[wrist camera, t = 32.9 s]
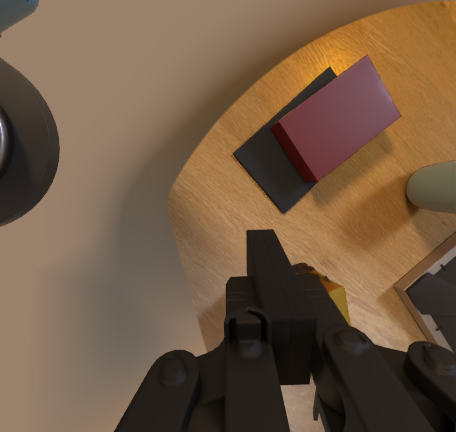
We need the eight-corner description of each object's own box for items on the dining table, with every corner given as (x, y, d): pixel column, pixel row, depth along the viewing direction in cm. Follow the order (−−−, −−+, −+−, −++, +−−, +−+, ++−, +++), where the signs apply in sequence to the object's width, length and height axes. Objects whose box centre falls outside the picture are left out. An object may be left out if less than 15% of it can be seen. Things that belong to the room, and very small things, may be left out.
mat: (283, 213, 36) (284, 213, 35) (232, 153, 34) (233, 153, 33) (372, 129, 37) (373, 129, 37) (328, 67, 35) (329, 66, 35)
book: (305, 183, 35) (381, 123, 37) (318, 181, 32) (401, 116, 33) (269, 128, 34) (350, 67, 35) (278, 120, 30) (367, 53, 32)
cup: (392, 206, 39) (461, 209, 29) (403, 160, 38) (477, 148, 28) (430, 215, 40) (508, 221, 30) (441, 171, 40) (524, 162, 30)
